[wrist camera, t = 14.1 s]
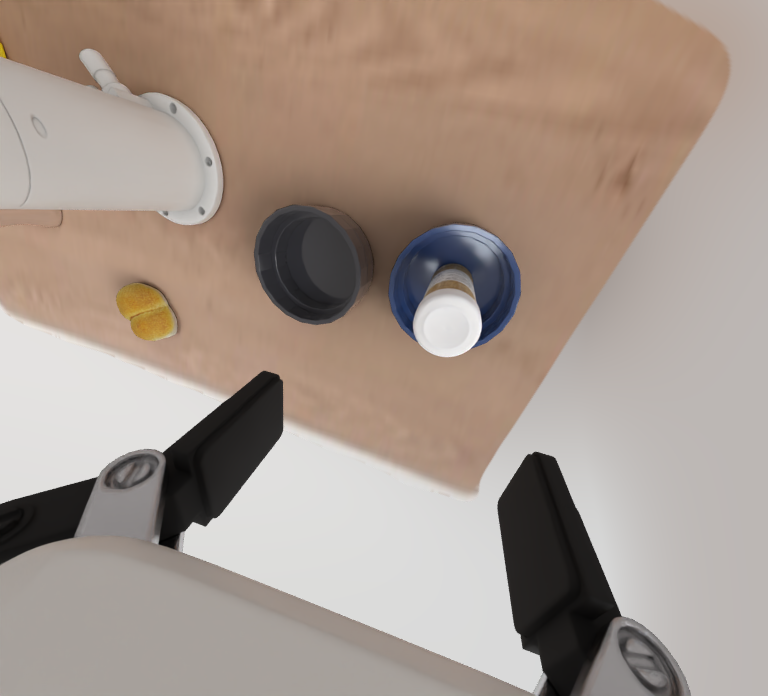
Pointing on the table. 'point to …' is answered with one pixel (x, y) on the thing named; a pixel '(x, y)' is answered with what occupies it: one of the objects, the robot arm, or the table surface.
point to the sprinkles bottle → (448, 313)
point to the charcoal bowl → (313, 262)
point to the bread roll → (147, 311)
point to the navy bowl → (473, 251)
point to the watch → (2, 51)
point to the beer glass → (30, 217)
